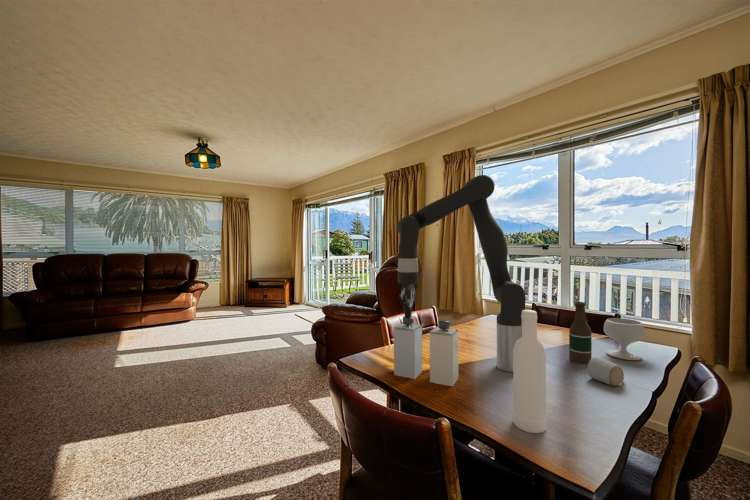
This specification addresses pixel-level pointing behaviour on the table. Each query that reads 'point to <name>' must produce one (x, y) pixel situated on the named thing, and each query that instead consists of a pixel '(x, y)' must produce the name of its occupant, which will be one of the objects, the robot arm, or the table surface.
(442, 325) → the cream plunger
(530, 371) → the bottle
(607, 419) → the table surface
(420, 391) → the table surface
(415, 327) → the block
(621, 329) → the chalice
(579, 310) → the beer bottle
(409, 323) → the grey plunger
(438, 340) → the block
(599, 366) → the cream cylinder
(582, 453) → the table surface
